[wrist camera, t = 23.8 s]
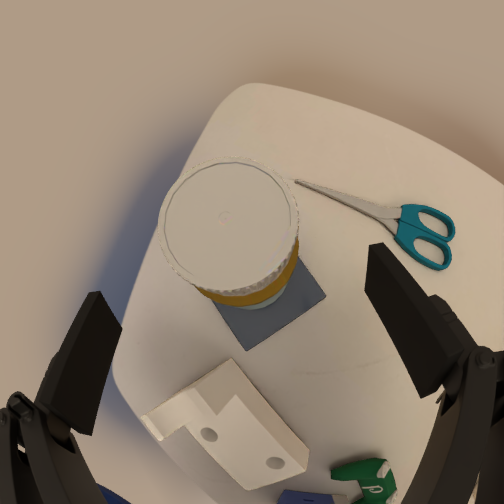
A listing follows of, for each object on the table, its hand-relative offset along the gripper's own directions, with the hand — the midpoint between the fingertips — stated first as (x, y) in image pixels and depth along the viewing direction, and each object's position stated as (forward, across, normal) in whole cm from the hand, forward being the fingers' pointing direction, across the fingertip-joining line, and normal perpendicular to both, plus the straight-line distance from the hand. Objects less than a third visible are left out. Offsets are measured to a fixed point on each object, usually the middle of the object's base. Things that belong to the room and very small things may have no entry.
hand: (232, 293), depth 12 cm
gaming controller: (-7, +9, -26) cm, 29 cm away
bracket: (+1, -4, -19) cm, 19 cm away
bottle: (+12, 0, -7) cm, 14 cm away
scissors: (+15, +15, -5) cm, 22 cm away
